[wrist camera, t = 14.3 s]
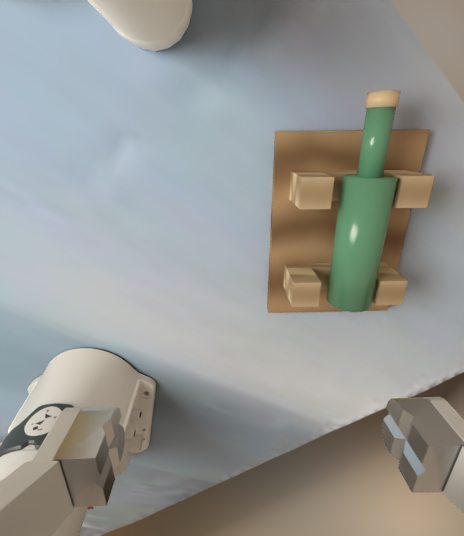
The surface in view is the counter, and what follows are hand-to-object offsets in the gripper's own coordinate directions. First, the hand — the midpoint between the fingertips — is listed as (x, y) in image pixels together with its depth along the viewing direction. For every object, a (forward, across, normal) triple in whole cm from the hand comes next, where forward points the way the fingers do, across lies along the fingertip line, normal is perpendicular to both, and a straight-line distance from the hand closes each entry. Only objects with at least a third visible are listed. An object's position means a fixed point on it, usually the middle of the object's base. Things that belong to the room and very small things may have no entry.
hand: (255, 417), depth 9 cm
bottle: (+26, +13, +2) cm, 29 cm away
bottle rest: (+29, +13, -2) cm, 32 cm away
